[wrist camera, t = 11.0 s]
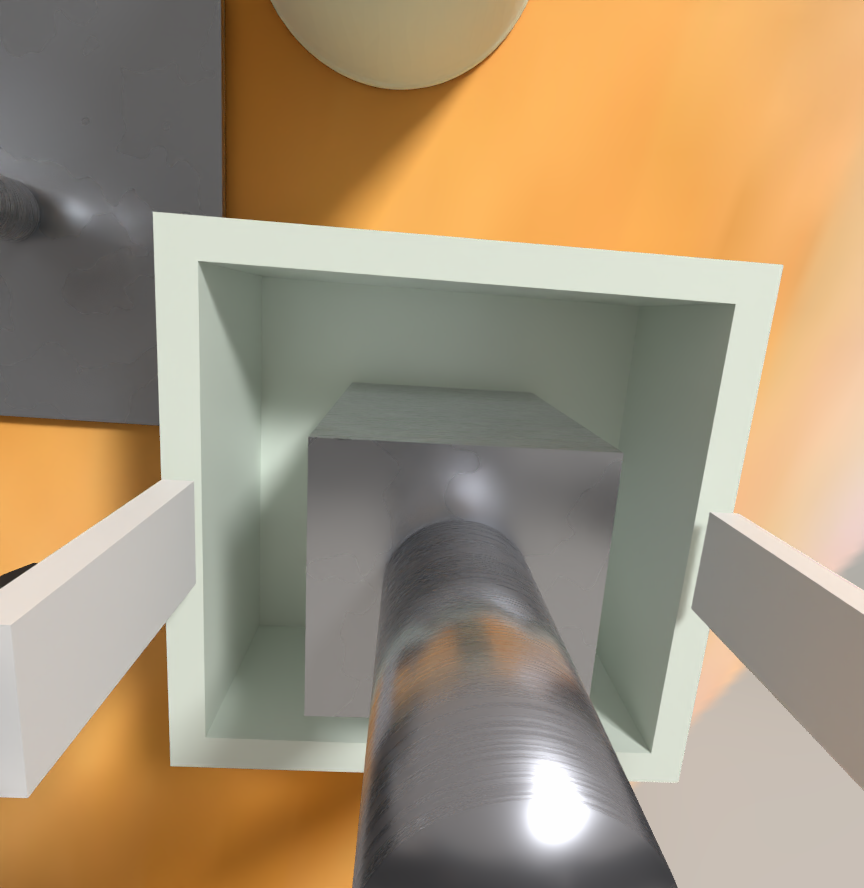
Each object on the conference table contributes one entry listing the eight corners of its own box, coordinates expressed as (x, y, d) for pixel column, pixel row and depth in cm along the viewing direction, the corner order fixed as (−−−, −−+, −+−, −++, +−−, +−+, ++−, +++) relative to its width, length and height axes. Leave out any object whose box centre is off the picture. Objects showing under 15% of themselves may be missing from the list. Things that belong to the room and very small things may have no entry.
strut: (347, 551, 22) (184, 1179, 6) (352, 382, 20) (154, 625, 5) (515, 558, 22) (777, 1171, 6) (531, 392, 20) (924, 652, 5)
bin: (240, 632, 23) (170, 766, 16) (240, 246, 20) (152, 211, 13) (602, 649, 24) (678, 782, 17) (660, 280, 21) (783, 265, 14)
